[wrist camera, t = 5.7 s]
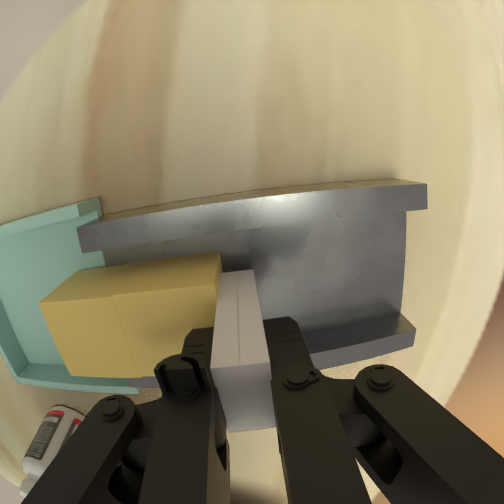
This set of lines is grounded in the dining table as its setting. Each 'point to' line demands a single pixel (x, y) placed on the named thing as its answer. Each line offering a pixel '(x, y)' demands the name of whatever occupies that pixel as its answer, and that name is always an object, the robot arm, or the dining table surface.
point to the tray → (44, 295)
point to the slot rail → (291, 256)
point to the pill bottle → (48, 443)
